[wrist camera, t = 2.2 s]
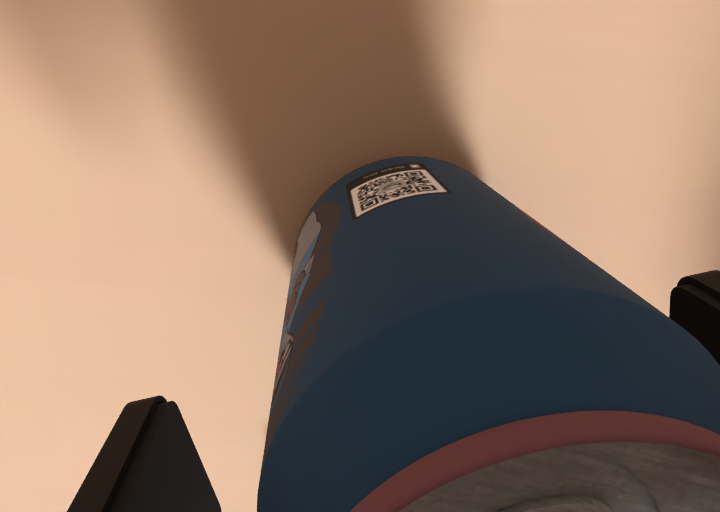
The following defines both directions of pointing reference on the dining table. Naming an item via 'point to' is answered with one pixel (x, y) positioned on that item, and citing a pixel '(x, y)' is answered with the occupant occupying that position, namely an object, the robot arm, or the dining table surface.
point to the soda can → (475, 365)
